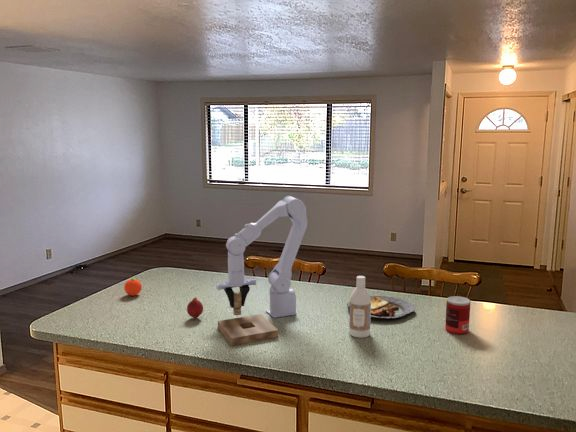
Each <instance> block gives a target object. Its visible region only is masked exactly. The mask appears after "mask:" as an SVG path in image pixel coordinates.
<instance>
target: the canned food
mask: <svg viewBox="0 0 576 432" xmlns="http://www.w3.org/2000/svg"><path fill="white" fill-rule="evenodd" d="M445 306H446V307H445V325H444V327H445V330H446V331H447V333H449V334H452V335H458V336H459V335H466V334H467V333H468V332H469V330H470V316H471V315H470V314H471V299H469V298H468V297H465V296H459V295H455V296H454V295H452V296H451V295H450V296H448V297H447V298H446V305H445Z"/></svg>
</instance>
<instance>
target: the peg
mask: <svg viewBox="0 0 576 432" xmlns="http://www.w3.org/2000/svg"><path fill="white" fill-rule="evenodd" d="M233 302H234V308H232V309H233V312H232V313H233V316H241V315H242V307H243V306H242V293H241V292H240V290H239V291H234V296H233Z"/></svg>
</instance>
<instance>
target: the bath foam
mask: <svg viewBox="0 0 576 432" xmlns="http://www.w3.org/2000/svg"><path fill="white" fill-rule="evenodd" d="M355 280H356V283H355V284H356V285H355V288H354V289H353V291H352V292H351V294H350V297H349V301H350V309H349V321H348V322H349V327H348V328H349V331H348V332H349V334H350V336H351V337H354V338H360V339H362V338H363V339H364V338H367V337H369V336H370V335H371V318H372V317H371V298H370V296H371V295H370V293H369V291H368V289H366V276H364V275H357V276H356V279H355Z"/></svg>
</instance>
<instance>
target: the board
mask: <svg viewBox="0 0 576 432" xmlns="http://www.w3.org/2000/svg"><path fill="white" fill-rule="evenodd" d="M217 328H218V330H219V331H220V332H221V334H222V336H224V337H225V339H226V340H227V342H228V343H229V344H230V345H231V346H233V347H234V346H237V345H243V344H248V343H249V344H250V343H253V342H258V341H259V342H260V341H265V340H270V339H276V338H279V329H278V328H277V327H275V326H274V325H273V324H272V323H271V322H270V321H269V320H268V319H267V318H266V317H265V316H263V315H262V314H261V313H260V314H259V313H258V314H253V315H252V314H251V315H248V316H241V317H235V318H229V319H222V320H217Z"/></svg>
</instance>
